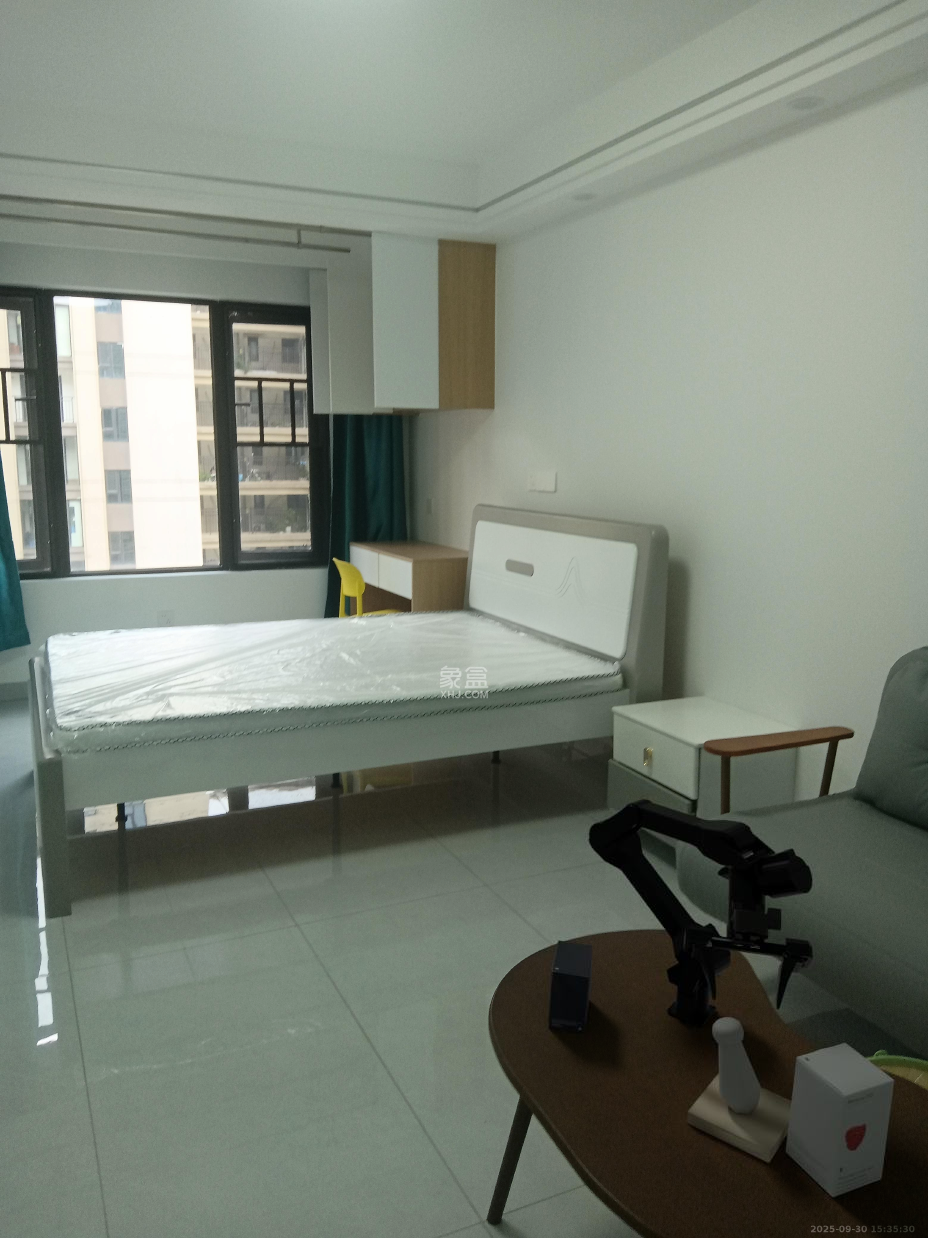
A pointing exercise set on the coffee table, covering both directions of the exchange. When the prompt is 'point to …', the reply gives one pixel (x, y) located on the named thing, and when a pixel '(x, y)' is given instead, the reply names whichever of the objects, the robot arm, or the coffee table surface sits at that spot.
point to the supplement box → (839, 1118)
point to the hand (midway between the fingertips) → (745, 1004)
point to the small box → (570, 986)
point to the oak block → (743, 1121)
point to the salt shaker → (735, 1067)
